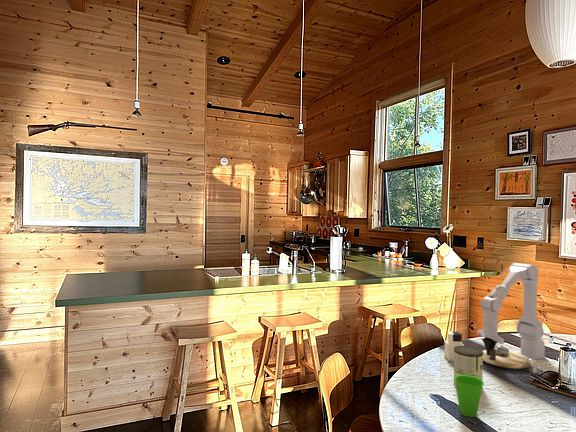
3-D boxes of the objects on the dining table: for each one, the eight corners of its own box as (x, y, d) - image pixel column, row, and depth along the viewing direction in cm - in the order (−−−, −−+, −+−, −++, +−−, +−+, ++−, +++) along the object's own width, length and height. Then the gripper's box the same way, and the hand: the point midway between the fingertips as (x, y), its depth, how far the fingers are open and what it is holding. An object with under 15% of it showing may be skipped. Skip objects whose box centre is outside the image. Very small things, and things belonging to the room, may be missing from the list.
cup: (448, 407, 139) (449, 374, 139) (474, 406, 140) (474, 374, 140) (462, 420, 130) (462, 385, 130) (489, 419, 131) (489, 385, 131)
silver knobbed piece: (524, 366, 178) (524, 354, 178) (538, 373, 171) (538, 359, 171) (518, 367, 178) (519, 354, 178) (532, 373, 170) (532, 360, 170)
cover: (498, 350, 192) (498, 343, 192) (512, 354, 186) (512, 347, 186) (488, 352, 189) (488, 345, 189) (502, 356, 183) (502, 349, 183)
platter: (499, 350, 196) (499, 338, 196) (540, 364, 178) (541, 351, 178) (470, 356, 187) (470, 344, 187) (510, 371, 169) (511, 358, 169)
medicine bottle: (460, 356, 190) (460, 330, 190) (465, 361, 183) (465, 335, 183) (444, 355, 191) (444, 330, 191) (448, 361, 184) (449, 334, 184)
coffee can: (452, 379, 163) (453, 344, 163) (480, 383, 160) (481, 347, 160) (453, 389, 154) (454, 352, 154) (484, 394, 150) (484, 355, 150)
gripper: (471, 320, 187) (471, 350, 187) (494, 329, 173) (493, 361, 173) (485, 320, 189) (484, 349, 189) (508, 328, 175) (507, 360, 175)
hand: (489, 355), depth 181 cm, fingers closed
